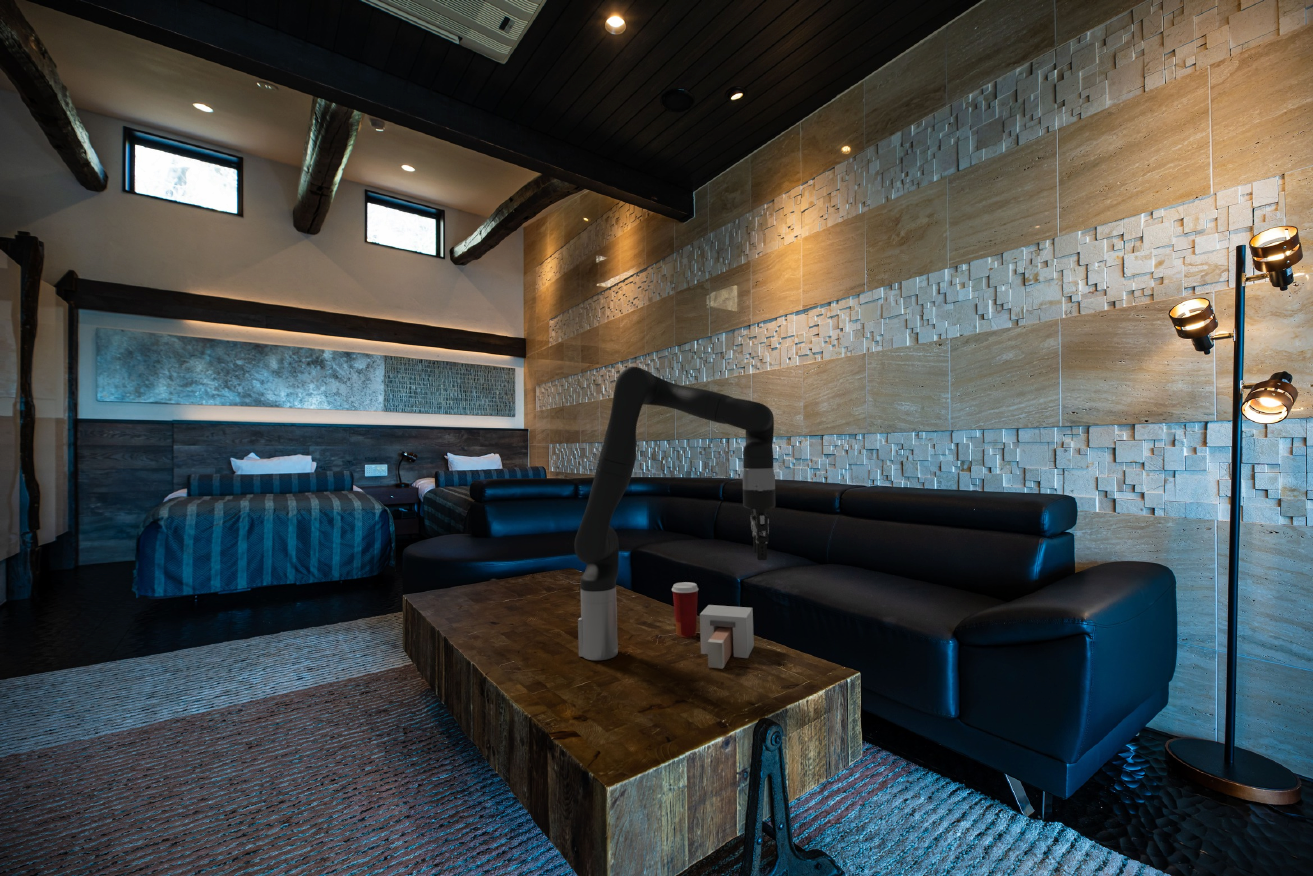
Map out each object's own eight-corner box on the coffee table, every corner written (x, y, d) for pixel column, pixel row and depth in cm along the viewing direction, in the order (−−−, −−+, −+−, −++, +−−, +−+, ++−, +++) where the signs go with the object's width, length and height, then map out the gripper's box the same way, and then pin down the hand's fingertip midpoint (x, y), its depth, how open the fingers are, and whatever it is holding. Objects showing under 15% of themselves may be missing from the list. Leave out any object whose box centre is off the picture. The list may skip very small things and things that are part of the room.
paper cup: (704, 632, 155) (703, 583, 156) (691, 640, 149) (690, 589, 149) (681, 628, 160) (679, 580, 160) (667, 636, 153) (666, 586, 154)
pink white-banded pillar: (708, 667, 129) (707, 641, 129) (723, 644, 144) (722, 621, 145) (722, 668, 128) (721, 643, 128) (736, 645, 143) (735, 622, 143)
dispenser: (700, 654, 138) (699, 614, 139) (709, 642, 147) (708, 604, 148) (747, 659, 134) (745, 618, 135) (753, 646, 143) (752, 607, 144)
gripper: (741, 485, 136) (742, 551, 135) (744, 489, 121) (746, 562, 121) (771, 485, 135) (772, 551, 134) (778, 489, 121) (780, 562, 120)
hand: (760, 556), depth 128 cm, fingers open, 8 cm apart
